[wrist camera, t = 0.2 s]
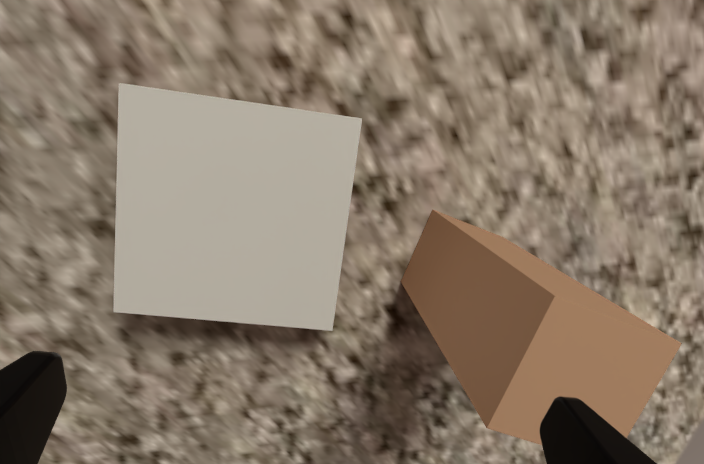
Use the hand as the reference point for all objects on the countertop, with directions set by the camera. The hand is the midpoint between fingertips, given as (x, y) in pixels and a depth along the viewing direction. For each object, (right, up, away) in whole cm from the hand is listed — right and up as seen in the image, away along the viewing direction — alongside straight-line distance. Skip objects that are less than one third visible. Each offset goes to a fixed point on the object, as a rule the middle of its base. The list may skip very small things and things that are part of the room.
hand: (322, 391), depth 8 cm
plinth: (-5, +4, +14) cm, 16 cm away
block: (+6, +1, +16) cm, 17 cm away
